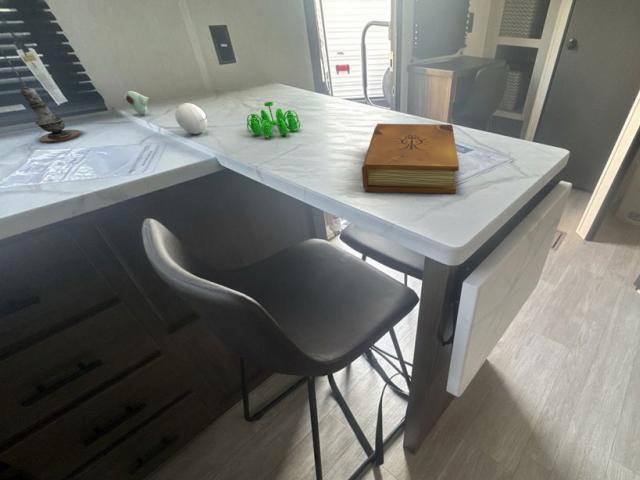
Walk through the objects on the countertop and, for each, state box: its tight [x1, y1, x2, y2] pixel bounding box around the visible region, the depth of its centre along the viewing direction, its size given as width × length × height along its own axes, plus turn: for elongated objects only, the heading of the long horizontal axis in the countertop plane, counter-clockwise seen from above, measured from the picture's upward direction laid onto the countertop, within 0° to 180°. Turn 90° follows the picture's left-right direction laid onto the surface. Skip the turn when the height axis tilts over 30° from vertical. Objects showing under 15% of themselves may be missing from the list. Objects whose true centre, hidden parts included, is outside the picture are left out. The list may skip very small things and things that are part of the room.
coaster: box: [39, 128, 82, 144], centre depth 87 cm, size 9×9×1 cm
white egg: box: [174, 102, 208, 135], centre depth 87 cm, size 10×7×7 cm
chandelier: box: [246, 101, 301, 139], centre depth 87 cm, size 15×15×7 cm
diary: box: [361, 123, 460, 195], centre depth 69 cm, size 23×19×6 cm
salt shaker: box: [19, 83, 71, 138], centre depth 82 cm, size 6×6×12 cm
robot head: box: [123, 90, 149, 116], centre depth 98 cm, size 8×4×7 cm, turn 80°
